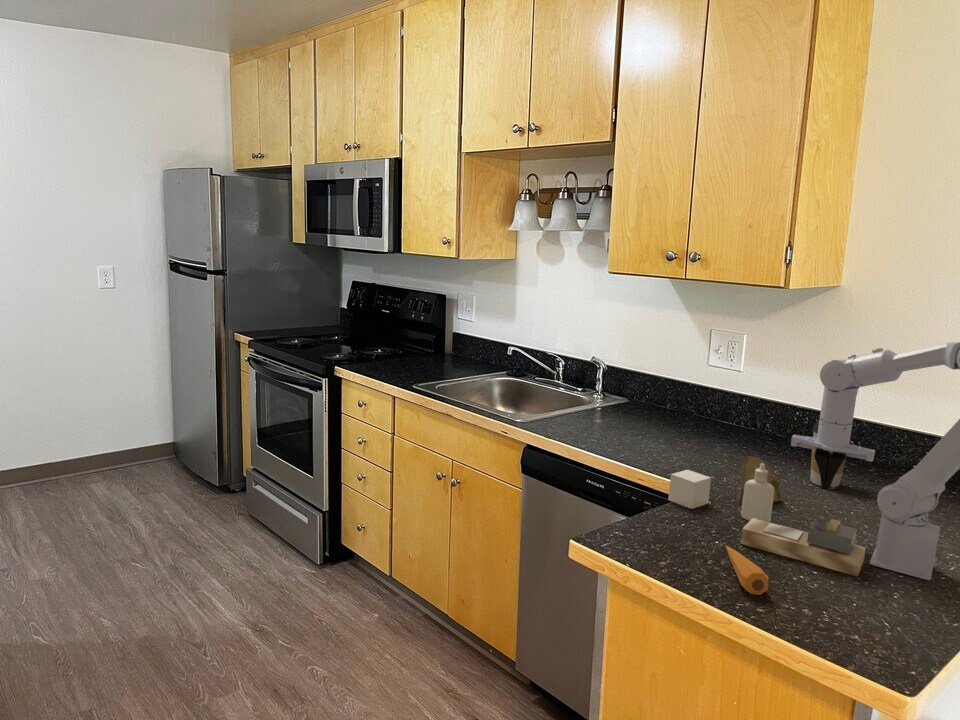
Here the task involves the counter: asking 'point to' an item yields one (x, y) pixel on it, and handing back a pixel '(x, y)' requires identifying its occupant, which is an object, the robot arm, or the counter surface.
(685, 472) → the white cube
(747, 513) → the eye dropper bottle
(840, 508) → the counter surface
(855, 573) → the body
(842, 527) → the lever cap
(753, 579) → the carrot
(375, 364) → the counter surface
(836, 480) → the coffee cup
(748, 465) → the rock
